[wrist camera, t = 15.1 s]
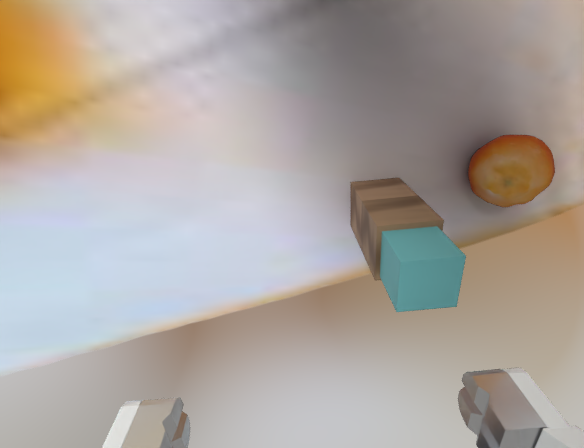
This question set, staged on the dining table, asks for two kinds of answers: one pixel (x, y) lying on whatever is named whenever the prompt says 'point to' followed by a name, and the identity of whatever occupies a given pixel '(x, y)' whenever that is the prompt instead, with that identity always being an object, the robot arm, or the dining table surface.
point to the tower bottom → (374, 197)
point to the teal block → (421, 268)
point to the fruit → (511, 170)
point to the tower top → (392, 223)
